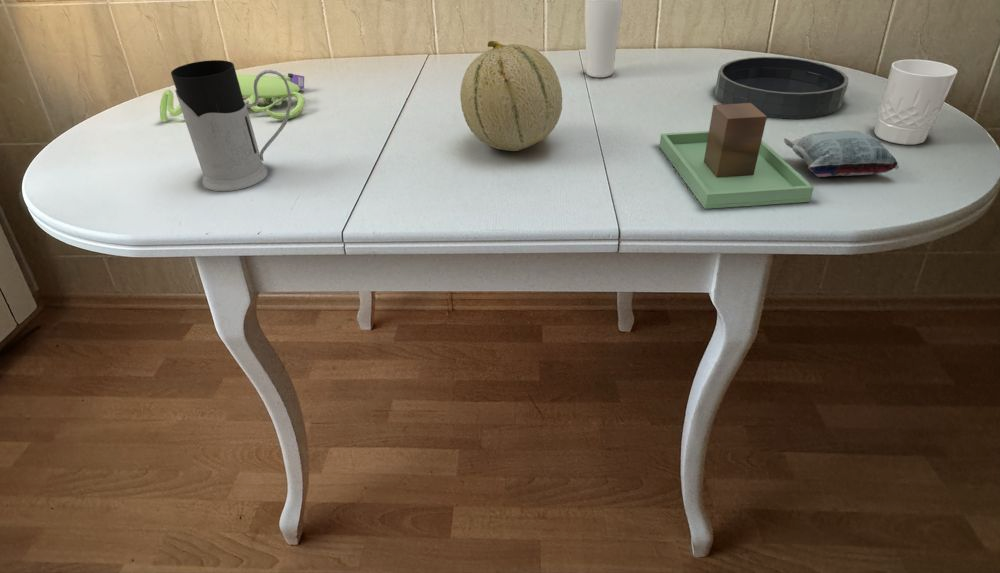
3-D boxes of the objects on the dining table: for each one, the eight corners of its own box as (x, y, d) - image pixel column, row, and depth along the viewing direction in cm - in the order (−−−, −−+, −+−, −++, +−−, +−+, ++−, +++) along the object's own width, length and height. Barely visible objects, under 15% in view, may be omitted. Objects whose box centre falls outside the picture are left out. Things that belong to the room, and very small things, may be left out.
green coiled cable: (196, 88, 121) (187, 58, 118) (329, 87, 119) (324, 56, 115) (145, 123, 106) (132, 90, 103) (296, 122, 104) (288, 89, 100)
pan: (805, 76, 115) (811, 54, 113) (866, 114, 99) (874, 89, 97) (698, 82, 114) (702, 60, 112) (742, 122, 98) (747, 97, 96)
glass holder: (202, 170, 89) (167, 64, 81) (303, 153, 93) (279, 50, 85) (202, 196, 83) (163, 83, 74) (310, 176, 87) (285, 67, 78)
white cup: (904, 150, 88) (930, 79, 82) (857, 132, 93) (879, 64, 88) (942, 140, 90) (971, 70, 84) (894, 122, 96) (918, 56, 90)
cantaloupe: (555, 169, 86) (558, 58, 77) (453, 164, 88) (444, 56, 80) (566, 129, 98) (569, 29, 89) (475, 126, 100) (469, 28, 91)
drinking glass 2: (574, 74, 120) (577, -10, 111) (597, 66, 124) (601, -16, 115) (601, 82, 116) (607, -5, 107) (624, 73, 120) (631, -11, 111)
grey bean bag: (779, 156, 87) (788, 122, 84) (864, 154, 87) (876, 120, 84) (804, 185, 80) (815, 149, 77) (897, 182, 80) (911, 147, 77)
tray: (659, 146, 91) (661, 133, 90) (746, 141, 92) (749, 128, 91) (704, 209, 76) (707, 194, 75) (809, 202, 76) (814, 187, 75)
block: (738, 159, 86) (750, 102, 81) (753, 175, 82) (767, 116, 77) (703, 161, 85) (713, 104, 81) (716, 177, 81) (727, 118, 77)
